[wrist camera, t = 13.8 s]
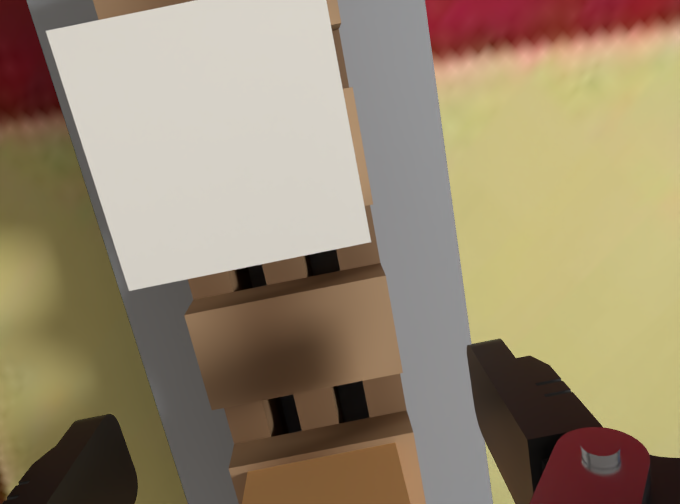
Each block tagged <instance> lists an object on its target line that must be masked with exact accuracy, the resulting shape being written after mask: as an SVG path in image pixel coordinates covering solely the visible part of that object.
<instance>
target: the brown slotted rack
mask: <svg viewBox="0 0 680 504" xmlns="http://www.w3.org/2000/svg"><path fill="white" fill-rule="evenodd" d="M190 1H195V0H93V2H94V6H95V9H96V13H97V16H98V20H102V19H107V18H111V17H116V16H121V15H126V14H131V13H136V12H141V11H146V10H151V9H156V8H161V7H165V6H170V5H175V4H180V3H185V2H190ZM326 1H327V7H328V12H329V18H330V23H331V28H332V34H333V39H334V44H335V50H336V55H337V61H338V66H339V71H340V77H341V82H342V88H343V93H344V98H345V104H346V109H347V115H348V120H349V125H350V131H351V136H352V141H353V147H354V152H355V158H356V163H357V168H358V174H359V179H360V185H361V190H362V195H363V201H364V206H365V212H366V217H367V222H368V228H369V233H370V238H371V242H369V243H364V244H359V245H355V246H350V247H345V248H340V249H336V252H337V257H338V262H339V267H340V271H337V272H332V273H326V274H321V275H316V276H313V271H312V267H311V262H310V257H309V255H305V256H300V257H295V258H290V259H285V260H280V261H275V262H270V263H265V264H262V267H263V272H264V276H265V280H266V284H267V285H266V286H261V287H256V288H253V287H252V283H251V279H250V275H249V271H248V267H246V268H241V269H236V270H231V271H226V272H221V273H216V274H211V275H206V276H201V277H196V278H191V279H188V283H189V286H190V290H191V293H192V297H193V301H192V303H191V305H190V306H189V308H188V310H187V311H186V313H185V315H184V316H185V320H186V323H187V327H188V330H189V334H190V337H191V341H192V344H193V347H194V351H195V354H196V358H197V361H198V365H199V368H200V372H201V375H202V378H203V382H204V385H205V389H206V392H207V396H208V399H209V403H210V406H211V410H217V409H222V408H224V410H225V414H226V417H227V421H228V424H229V428H230V431H231V435H232V438H233V442H234V447H233V451H232V456H231V460H230V465H229V472H230V475H231V479H232V482H233V485H234V489H235V492H236V496H237V499H238V503H239V504H242V501H243V495H244V489H245V484H246V478H247V472H249V471H254V470H259V469H264V468H269V467H274V466H279V465H284V464H289V463H294V462H299V461H304V460H309V459H314V458H320V457H325V456H330V455H335V454H340V453H345V452H350V451H355V450H360V449H365V448H370V447H375V446H380V445H385V444H390V443H396V447H397V451H398V455H399V459H400V463H401V468H402V472H403V476H404V480H405V484H406V488H407V492H408V496H409V500H410V504H426V501H425V495H424V490H423V484H422V478H421V473H420V467H419V461H418V456H417V450H416V444H415V439H414V433H413V429H412V426H411V423H410V420H409V416H408V413H407V409H406V404H405V398H404V393H403V387H402V381H401V376H400V373H403V370H402V365H401V359H400V353H399V348H398V342H397V336H396V331H395V325H394V319H393V314H392V308H391V302H390V297H389V291H388V285H387V280H386V275H385V272H384V270H383V268H382V265H381V263H380V258H379V252H378V246H377V241H376V235H375V229H374V224H373V218H372V213H371V207H370V205H373V200H372V194H371V189H370V183H369V177H368V172H367V166H366V160H365V155H364V149H363V143H362V138H361V132H360V126H359V121H358V115H357V109H356V104H355V98H354V92H353V87H350V88H349V83H348V78H347V72H346V66H345V61H344V55H343V50H342V44H341V38H340V33H339V28H340V25H341V18H340V13H339V7H338V1H337V0H326ZM359 381H362V382H363V387H364V392H365V397H366V402H367V407H368V412H369V417H370V418H365V419H360V420H355V421H350V422H345V420H344V416H343V411H342V406H341V402H340V397H339V392H338V388H337V386H339V385H344V384H349V383H354V382H359ZM288 395H293V396H294V400H295V404H296V409H297V413H298V417H299V421H300V425H301V429H302V431H299V432H294V433H289V432H288V428H287V424H286V420H285V416H284V412H283V408H282V404H281V400H280V397H283V396H288Z"/></svg>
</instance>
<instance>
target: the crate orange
mask: <svg viewBox="0 0 680 504" xmlns="http://www.w3.org/2000/svg"><path fill="white" fill-rule="evenodd" d="M242 504H410V500H409V496H408V492H407V488H406V484H405V480H404V476H403V472H402V468H401V463H400V459H399V455H398V451H397V447H396V443H390V444H385V445H380V446H375V447H370V448H365V449H360V450H355V451H350V452H345V453H340V454H335V455H330V456H325V457H320V458H314V459H309V460H304V461H299V462H294V463H289V464H284V465H279V466H274V467H269V468H264V469H259V470H254V471H249V472H247V478H246V484H245V489H244V495H243V501H242Z"/></svg>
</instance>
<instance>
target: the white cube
mask: <svg viewBox="0 0 680 504" xmlns="http://www.w3.org/2000/svg"><path fill="white" fill-rule="evenodd" d="M46 34H47V37H48V40H49V43H50V46H51V49H52V52H53V56H54V59H55V62H56V65H57V68H58V71H59V74H60V77H61V81H62V84H63V87H64V90H65V93H66V96H67V99H68V102H69V105H70V109H71V112H72V115H73V118H74V121H75V124H76V127H77V130H78V133H79V137H80V140H81V143H82V146H83V149H84V152H85V155H86V158H87V162H88V165H89V168H90V171H91V174H92V177H93V180H94V183H95V186H96V190H97V193H98V196H99V199H100V202H101V205H102V208H103V211H104V215H105V218H106V221H107V224H108V227H109V230H110V233H111V236H112V239H113V243H114V246H115V249H116V252H117V255H118V258H119V261H120V264H121V268H122V271H123V274H124V277H125V280H126V283H127V286H128V289H129V291H132V290H137V289H141V288H146V287H151V286H156V285H161V284H166V283H171V282H176V281H181V280H186V279H191V278H196V277H201V276H206V275H211V274H216V273H221V272H226V271H231V270H236V269H241V268H246V267H250V266H255V265H260V264H265V263H270V262H275V261H280V260H285V259H290V258H295V257H300V256H305V255H310V254H315V253H320V252H325V251H330V250H335V249H340V248H345V247H350V246H355V245H359V244H364V243H369V242H371V238H370V233H369V228H368V222H367V217H366V212H365V206H364V201H363V195H362V190H361V185H360V179H359V174H358V168H357V163H356V158H355V152H354V147H353V141H352V136H351V131H350V125H349V120H348V115H347V109H346V104H345V98H344V93H343V88H342V82H341V77H340V71H339V66H338V61H337V55H336V50H335V44H334V39H333V34H332V28H331V23H330V18H329V12H328V7H327V1H326V0H195V1H190V2H185V3H180V4H175V5H170V6H165V7H161V8H156V9H151V10H146V11H141V12H136V13H131V14H126V15H121V16H116V17H111V18H107V19H102V20H97V21H92V22H87V23H82V24H77V25H72V26H67V27H62V28H58V29H53V30H48V31H46Z"/></svg>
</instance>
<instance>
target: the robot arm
mask: <svg viewBox="0 0 680 504" xmlns="http://www.w3.org/2000/svg"><path fill="white" fill-rule="evenodd" d="M467 359H468V366H469V373H470V380H471V387H472V394H473V401H474V408H475V413H476V417H477V421H478V425H479V428H480V431H481V433H482V436H483V438H484V440H485V442H486V444H487V446H488V448H489V450H490V452H491V454H492V456H493V458H494V460H495V462H496V465H497V467H498V469H499V471H500V473H501V475H502V477H503V479H504V481H505V483H506V485H507V487H508V489H509V491H510V493H511V495H512V497H513V499H514V501H515V503H516V504H680V458H667V457H658V456H652V455H649V453H648V451H647V449H646V448H645V447H644V446H643V444H641V443H640V442H639V441H638V440H637V439H635V438H633V437H632V436H630V435H628V434H626V433H623V432H620V431H617V430H613V429H609V428H603V427H602V425H601V424H600V423H599V422H598V421H597V420H596V418H595V417H594V416H593V415H592V414H591V413H590V412H589V410H588V409H587V408H586V407H585V406H584V405H583V403H582V402H581V401H580V400H579V399H578V398H577V397H576V395H575V394H574V393H573V392H571V391H570V388H569V387H568V386H567V385H566V384H565V383H564V382H563V381H561V378H560V377H559V376H558V375H557V373H556V372H555V371H554V370H553V369H552V368H551V367H550V365H548V364H546V363H544V362H542V361H540V360H538V359H536V358H534V357H532V356H526V357H521V358H515V357H514V355H513V354H512V353H511V351H510V350H509V349H508V347H507V346H506V345H505V343H504V342H503V341H502V340H501V339H496V340H491V341H485V342H480V343H475V344H470V345H467ZM137 489H138V483H137V475H136V471H135V468H134V465H133V462H132V460H131V457H130V454H129V451H128V448H127V445H126V442H125V440H124V437H123V434H122V431H121V428H120V425H119V423H118V421H117V419H116V418H115V416H113V415H111V414H107V415H102V416H97V417H92V418H87V419H82V420H77V421H75V422H74V423H73V424H72V425H71V427H70V428H69V429H68V431H67V432H66V433H65V435H64V436H63V437H62V439H61V440H60V441H59V443H58V444H57V445H56V447H54V448H52V449H51V450H50V451H49V452H47V453H46V454H45V455H44V456H42V457H41V458H40V459H39V460H37V461H36V462H35V463H34V464H33V465H32V466H31V467H30V468H29V470H28V471H27V472H26V473H25V475H24V476H23V477H22V479H21V480H20V481H19V485H18V486H15V488H14V489H13V490H12V491H11V493H10V494H9V495H8V497H7V500H6V501H4V502H3V503H2V504H134V503H135V500H136V497H137Z"/></svg>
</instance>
